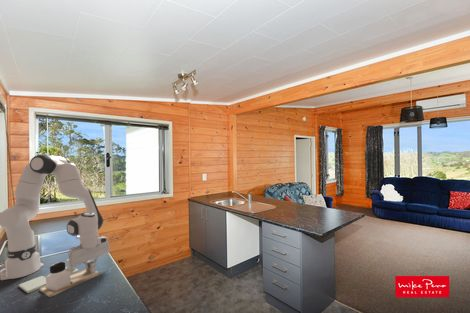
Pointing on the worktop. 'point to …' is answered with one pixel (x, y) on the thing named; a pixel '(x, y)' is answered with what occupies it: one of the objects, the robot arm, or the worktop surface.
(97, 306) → the worktop surface
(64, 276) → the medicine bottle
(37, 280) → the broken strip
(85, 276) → the birch strip
